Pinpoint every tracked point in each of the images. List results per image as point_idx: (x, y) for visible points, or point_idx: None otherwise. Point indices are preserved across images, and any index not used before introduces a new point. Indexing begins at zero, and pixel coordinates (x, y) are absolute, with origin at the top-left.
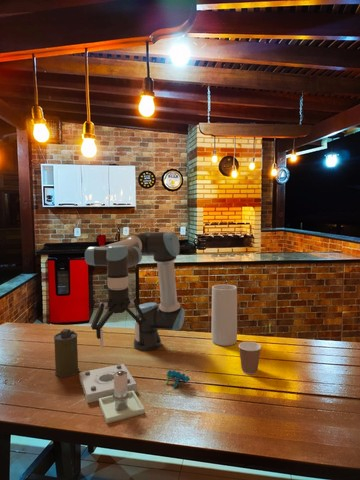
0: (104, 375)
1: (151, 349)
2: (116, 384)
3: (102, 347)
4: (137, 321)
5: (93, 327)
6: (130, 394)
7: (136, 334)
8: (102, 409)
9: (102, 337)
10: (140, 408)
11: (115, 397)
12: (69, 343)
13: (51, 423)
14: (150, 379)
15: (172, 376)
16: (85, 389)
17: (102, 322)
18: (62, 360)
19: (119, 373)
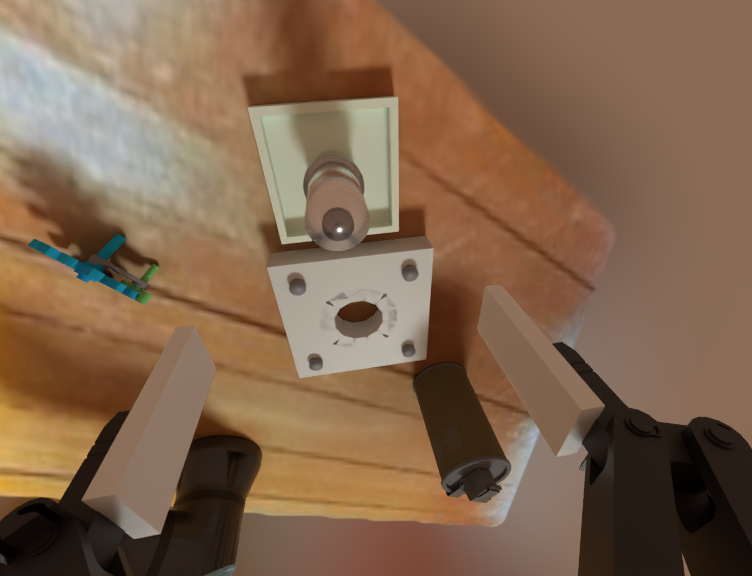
0: (363, 335)
1: (210, 437)
2: (358, 187)
3: (492, 288)
4: (76, 560)
5: (736, 444)
6: (293, 233)
7: (184, 388)
8: (397, 169)
9: (537, 345)
10: (264, 114)
11: (356, 176)
12: (468, 446)
13: (537, 168)
14: (219, 305)
15: (123, 283)
16: (431, 276)
17: (667, 529)
18: (469, 399)
19: (345, 213)
